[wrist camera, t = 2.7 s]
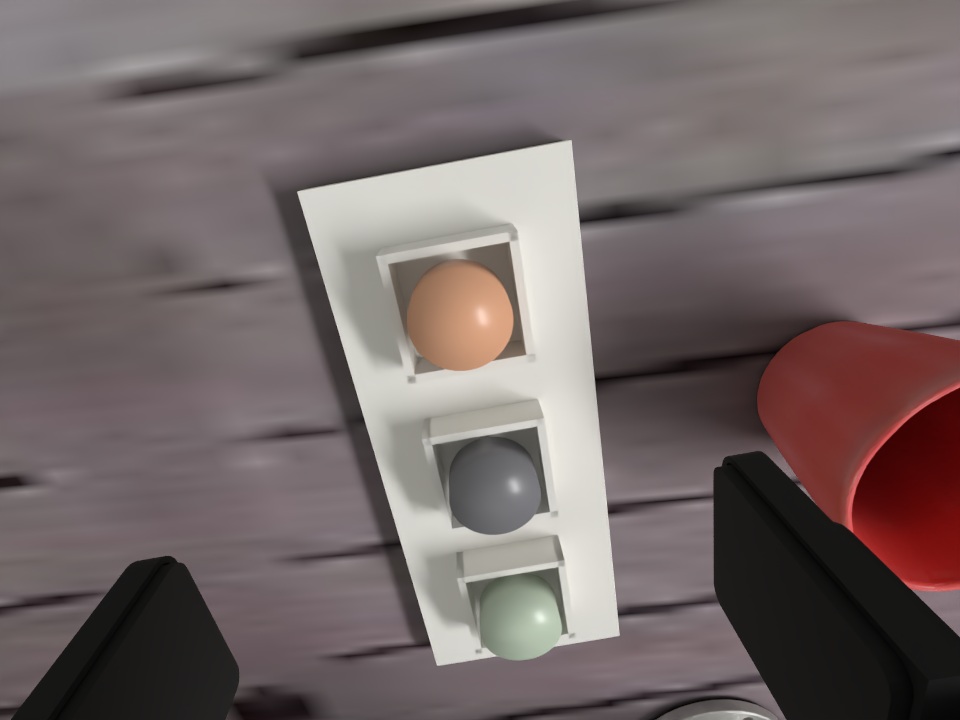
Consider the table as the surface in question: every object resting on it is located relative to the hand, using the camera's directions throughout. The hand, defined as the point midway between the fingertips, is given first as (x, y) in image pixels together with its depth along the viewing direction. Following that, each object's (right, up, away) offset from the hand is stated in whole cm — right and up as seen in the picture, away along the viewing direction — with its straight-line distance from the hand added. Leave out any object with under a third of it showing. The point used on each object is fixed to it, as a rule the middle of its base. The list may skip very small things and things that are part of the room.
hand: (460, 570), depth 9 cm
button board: (+1, -1, +20) cm, 21 cm away
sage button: (+3, -10, +21) cm, 24 cm away
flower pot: (+19, +2, +20) cm, 28 cm away
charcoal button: (+1, -2, +18) cm, 18 cm away
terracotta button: (-1, +6, +14) cm, 15 cm away
